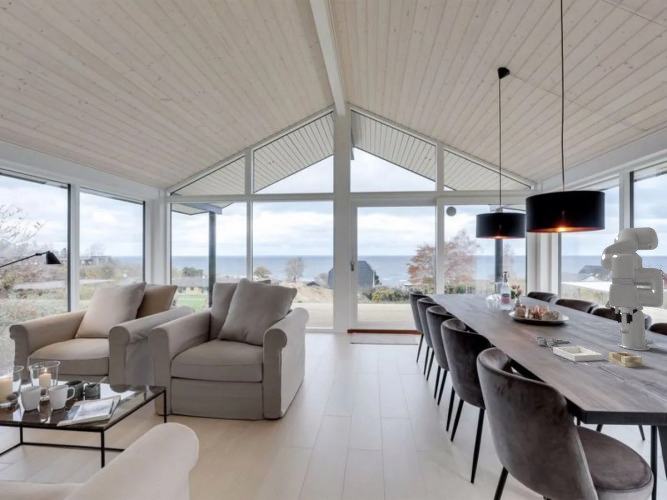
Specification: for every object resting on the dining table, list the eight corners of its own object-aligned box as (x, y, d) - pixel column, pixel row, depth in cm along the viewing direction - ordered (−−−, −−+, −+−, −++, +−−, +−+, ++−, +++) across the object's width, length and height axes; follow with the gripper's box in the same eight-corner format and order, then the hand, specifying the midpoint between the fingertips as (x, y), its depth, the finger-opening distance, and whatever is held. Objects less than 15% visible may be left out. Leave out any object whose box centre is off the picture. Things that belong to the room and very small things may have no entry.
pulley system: (531, 350, 183) (564, 353, 174) (530, 341, 184) (563, 343, 174) (539, 341, 204) (569, 343, 195) (538, 333, 205) (569, 335, 195)
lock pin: (624, 331, 155) (624, 312, 155) (630, 333, 152) (630, 313, 152) (618, 332, 154) (617, 312, 155) (624, 333, 151) (623, 313, 152)
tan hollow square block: (625, 362, 157) (625, 351, 157) (642, 368, 149) (642, 356, 149) (609, 363, 156) (608, 352, 156) (625, 369, 148) (624, 357, 149)
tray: (579, 353, 172) (579, 346, 172) (603, 362, 158) (603, 354, 158) (553, 354, 171) (553, 347, 171) (574, 363, 157) (574, 355, 157)
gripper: (647, 281, 151) (648, 323, 151) (600, 280, 161) (601, 319, 161) (648, 283, 145) (649, 326, 145) (599, 281, 156) (600, 322, 156)
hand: (624, 322), depth 153 cm, fingers closed on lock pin, 3 cm apart
